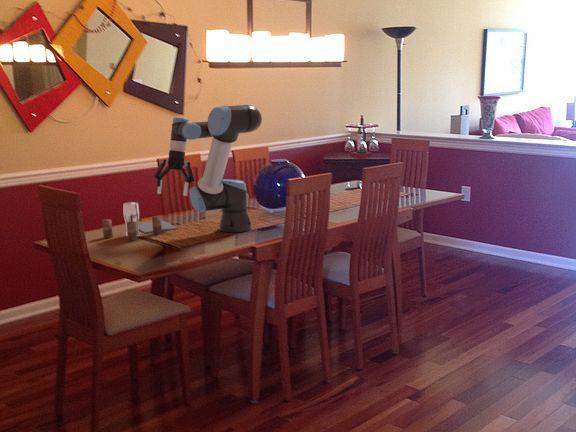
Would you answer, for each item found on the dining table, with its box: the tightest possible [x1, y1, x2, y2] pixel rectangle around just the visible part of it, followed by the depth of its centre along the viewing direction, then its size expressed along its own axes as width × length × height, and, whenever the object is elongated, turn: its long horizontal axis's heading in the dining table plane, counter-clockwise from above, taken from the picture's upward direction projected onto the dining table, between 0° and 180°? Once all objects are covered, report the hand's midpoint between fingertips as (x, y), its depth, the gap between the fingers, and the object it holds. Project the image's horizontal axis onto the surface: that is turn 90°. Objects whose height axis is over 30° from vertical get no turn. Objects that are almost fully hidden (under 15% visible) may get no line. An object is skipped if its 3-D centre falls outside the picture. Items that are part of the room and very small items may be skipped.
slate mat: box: [138, 220, 179, 234], centre depth 338 cm, size 20×16×1 cm
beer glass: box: [122, 201, 141, 238], centre depth 320 cm, size 7×7×15 cm
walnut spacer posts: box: [102, 215, 163, 242], centre depth 319 cm, size 16×25×8 cm, turn 119°
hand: (172, 194), depth 336 cm, fingers open, 13 cm apart
